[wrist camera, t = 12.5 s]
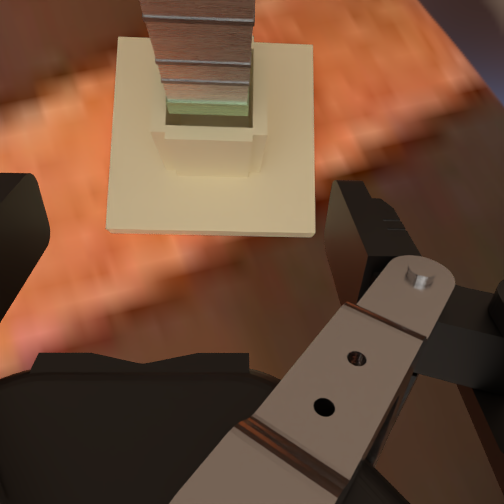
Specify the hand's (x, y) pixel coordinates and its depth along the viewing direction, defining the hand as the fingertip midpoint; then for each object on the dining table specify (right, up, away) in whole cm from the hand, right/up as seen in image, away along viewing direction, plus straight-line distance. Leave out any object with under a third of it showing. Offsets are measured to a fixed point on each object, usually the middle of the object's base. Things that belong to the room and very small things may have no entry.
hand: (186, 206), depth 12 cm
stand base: (-1, +7, +20) cm, 21 cm away
